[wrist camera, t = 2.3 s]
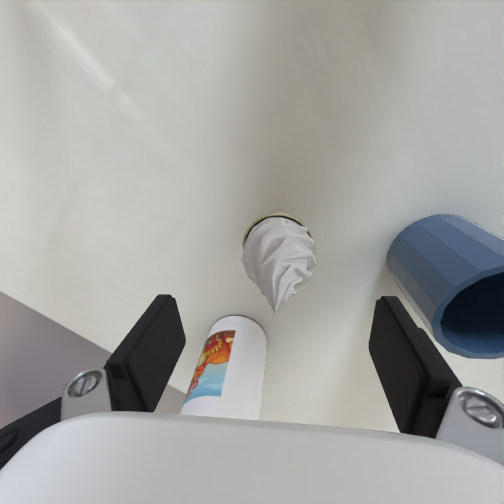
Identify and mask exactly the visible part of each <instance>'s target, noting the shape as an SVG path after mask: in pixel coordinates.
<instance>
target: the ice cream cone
mask: <svg viewBox="0 0 504 504" xmlns="http://www.w3.org/2000/svg"><path fill="white" fill-rule="evenodd" d="M314 254H316V248H315V245H314V242H313V238H312V235H311V233H310V231H309V229H308V228H307V227H306V226H305V225H304V224H303V223H302V222H301V221H300V220H298V219H296V218H294V217H292V216H289V215H288V214H286V213H285V212H283V211H282V210H278V211H276V212H274V213H272V214H271V215H267V216H264V217H262V218H260V219H258V220H256V221H255V222H254V223H253V224H251V226H250V227H249V228H248V229H247V231H246V233H245V235H244V238H243V252H242V257H241V259H242V262H243V265H244V267H245V270H246V273H247V275H248V277H249V278H250V279H251V280H252V281H253V282H254V283H255V284H256V285H257V286H258V287H259V288H260V290H261V292H262V294H263V295H264V296H266V298H267V300H268V301H269V303H270V305H271V306H272V308H273V310H274V312H275V314H277V313H278V312H279V310H280V309H281V307H282V306H283V304H284V303H285V302H286V300H287V299H288V298H289V297H290V295H294V294H296V291H295V289H296V286H297V285H303V284H305V283H306V282H307V281H308V279H309V278H310V277H311V276H312V272H309V271H310V270H311V269H312V268H314V267H315V266H316V265H317V263H318V260H317V258H316V257H315V256H314Z"/></svg>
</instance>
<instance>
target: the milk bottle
mask: <svg viewBox="0 0 504 504" xmlns="http://www.w3.org/2000/svg"><path fill="white" fill-rule="evenodd" d="M266 349H267V338H266V335H265V333H264V331H263V329H262V328H261V327H260V326H259V325H258V324H257V323H256V322H254V321H253V320H251V319H248V318H246V317H241V316H228V317H224V318H222V319H220V320H218V321H217V322H216V323H215V324H214V325H213V326H212V328H211V330H210V332H209V335H208V337H207V340H206V342H205V345H204V348H203V351H202V353H201V356H200V359H199V361H198V364H197V367H196V370H195V372H194V375H193V378H192V381H191V383H190V386H189V389H188V392H187V395H186V397H185V401H184V404H183V407H182V410H181V413H180V414H181V415H195V416H208V417H222V418H235V419H247V420H260V413H261V403H262V393H263V383H264V372H265V360H266Z"/></svg>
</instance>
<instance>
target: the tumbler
mask: <svg viewBox="0 0 504 504" xmlns="http://www.w3.org/2000/svg"><path fill="white" fill-rule="evenodd" d="M387 265H388V269H389V271H390V274H391V275H392V277H393V279H394V281H395V282H396V284H397V285H398V287H399V288H400V290H401V291H402V292H403V294H404V295H405V297H406V298H407V300H408V301H409V303H410V304H411V306H412V307H413V308H414V310H415V311H416V313H417V314H418V316H419V317H420V319H421V320H422V321H423V323H424V324H425V326H426V327H427V329H428V330H429V332H430V333H431V334H432V336H433V337H434V339H435V340H436V341H437V342H438V343H439V344H440V345H441V346H443V347H444V348H445V349H446V350H447V351H448V352H451V353H454V354H457V355H460V356H463V357H466V358H474V359H497V358H503V357H504V237H502V236H500V235H498V234H496V233H494V232H492V231H490V230H488V229H486V228H484V227H483V226H481V225H479V224H477V223H474V222H472V221H469V220H467V219H465V218H463V217H460V216H456V215H436V216H431V217H427V218H424V219H422V220H419V221H417V222H415V223H413V224H412V225H410V226H409V227H407V228H406V229H405V230H403V231H402V232H401V233H400V234H399V235H398V236H397V238H396V239H395V240H394V242H393V243H392V245H391V247H390V249H389V253H388V258H387Z"/></svg>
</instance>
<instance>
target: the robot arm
mask: <svg viewBox="0 0 504 504" xmlns="http://www.w3.org/2000/svg"><path fill="white" fill-rule="evenodd" d="M185 342H186V338H185V334H184V330H183V326H182V323H181V319H180V315H179V311H178V307H177V303H176V300H175V298H172V296H171V295H158V296H157V297H156V298H155V299H154V301H153V302H152V303H151V304H150V306H149V307H148V308H147V310H146V311H145V312H144V314H143V315H142V316H141V317H140V319H139V320H138V321H137V323H136V324H135V325H134V327H133V328H132V329H131V331H130V332H129V333H128V334H127V336H126V337H125V338H124V340H123V341H122V342H121V344H120V345H119V346H118V347H117V349H116V350H115V351H114V353H113V354H112V355H111V357H110V358H109V359H108V360H107V362H106V365H105V366H104V367H103V368H101V367H92V368H88V369H86V370H83V371H82V372H80V373H78V374H77V375H75V376H74V377H73V378H72V379H71V380H70V381H69V382H68V383H67V384H66V386H65V387H64V389H63V393H62V396H61V397H59V398H57V399H56V400H54V401H52V402H50V403H48V404H46V405H44V406H42V407H41V408H39V409H37V410H35V411H33V412H31V413H29V414H27V415H25V416H24V417H22V418H20V419H18V420H16V421H14V422H12V423H11V424H9V425H7V426H5V427H4V428H2V429H0V504H504V404H503V403H501V402H500V401H499V400H498V399H496V398H495V397H493V396H492V395H490V394H488V393H487V392H484V391H482V390H479V389H477V388H472V387H463V386H462V384H461V383H460V381H459V380H458V378H457V377H456V376H455V374H454V373H453V371H452V370H451V368H450V367H449V365H448V364H447V363H446V361H445V360H444V358H443V357H442V355H441V354H440V352H439V351H438V350H437V348H436V347H435V345H434V344H433V342H432V341H431V339H430V338H429V336H428V335H427V334H426V332H425V331H424V330H423V329H422V328H418V327H417V325H416V324H415V322H414V321H413V319H412V318H411V316H410V315H409V313H408V312H407V310H406V309H405V307H404V306H403V304H402V303H401V301H400V300H399V298H398V297H396V296H382V297H381V299H380V300H379V299H378V300H377V301H376V305H375V311H374V317H373V322H372V328H371V334H370V340H369V352H370V355H371V358H372V360H373V363H374V365H375V368H376V371H377V373H378V376H379V379H380V381H381V384H382V387H383V389H384V392H385V395H386V397H387V400H388V402H389V405H390V408H391V410H392V413H393V416H394V418H395V421H396V424H397V426H398V429H399V431H400V432H401V433H395V432H385V431H375V430H365V429H356V428H344V427H332V426H320V425H309V424H297V423H285V422H272V421H260V420H247V419H235V418H222V417H208V416H195V415H181V414H168V413H167V414H166V413H153V412H154V411H155V409H156V407H157V404H158V402H159V400H160V398H161V396H162V394H163V391H164V389H165V387H166V385H167V383H168V381H169V378H170V376H171V374H172V372H173V370H174V368H175V366H176V363H177V361H178V359H179V357H180V355H181V353H182V350H183V348H184V346H185ZM403 433H405V434H403Z"/></svg>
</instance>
